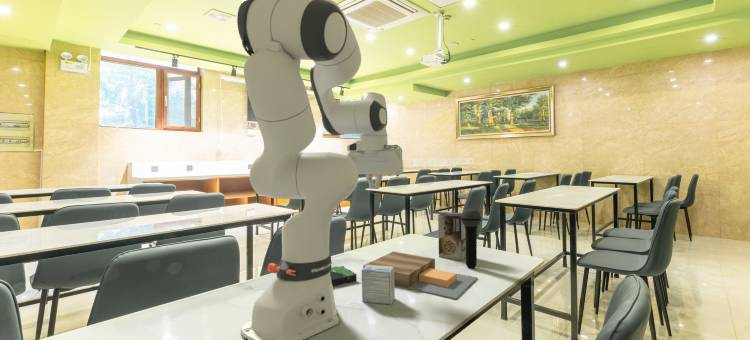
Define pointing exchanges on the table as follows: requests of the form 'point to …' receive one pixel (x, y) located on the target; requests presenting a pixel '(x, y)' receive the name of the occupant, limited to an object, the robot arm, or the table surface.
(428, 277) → the orange block
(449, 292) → the mat
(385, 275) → the medicine box
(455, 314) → the table surface
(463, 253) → the coffee box
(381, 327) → the table surface
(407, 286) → the board
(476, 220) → the microphone
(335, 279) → the disk drive
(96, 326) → the table surface
